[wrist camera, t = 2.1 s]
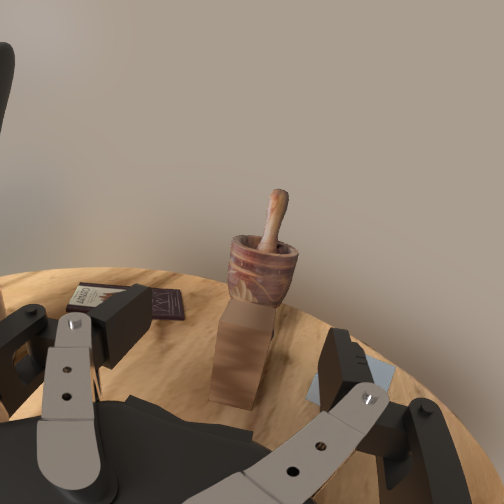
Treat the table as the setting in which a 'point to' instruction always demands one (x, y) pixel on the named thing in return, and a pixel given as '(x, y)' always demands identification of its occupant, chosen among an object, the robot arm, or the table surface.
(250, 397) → the walnut block
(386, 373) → the slate-blue block
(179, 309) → the chocolate bar
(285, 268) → the mortar and pestle
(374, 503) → the table surface
